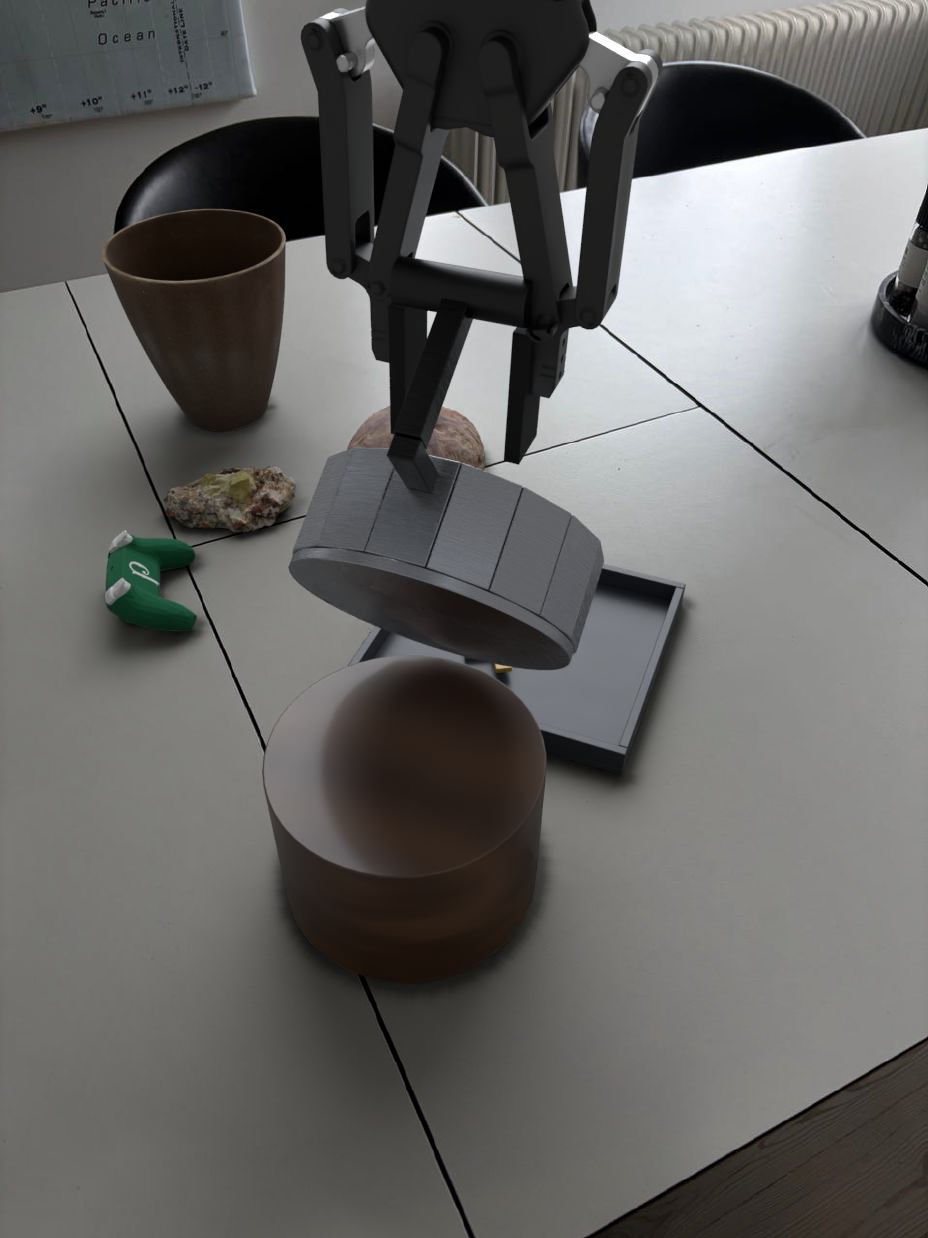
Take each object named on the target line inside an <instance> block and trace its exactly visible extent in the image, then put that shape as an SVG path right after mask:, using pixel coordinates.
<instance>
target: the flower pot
mask: <svg viewBox="0 0 928 1238" xmlns="http://www.w3.org/2000/svg"><path fill="white" fill-rule="evenodd" d="M286 240H287V238H286V234H285V232H284V229H282V227H281V226H280V225H279V224H278V223H276V222H275V221H273V220H272V219H270V218H267V217H266V216H263V215H260V214H256V213H253V212H250V211H249V212H248V211H242V210H234V209H226V208H225V209H224V208H199V209H188V210H180V211H174V212H167V213H164V214H159V215H155V216H151V217H148V218H146V219H142V220H140V221H138V222H135V223H132V224H130V225H127V226H125V227H124V228H122V229H120V230H118V231H117V232H116V233H114V234H113V235H112V236H111V237H110V238H108V240H107V241H106V242H105V243H104V245H103V247H102V249H101V258H102V261H103V264H104V267H105V269H106V271H107V274H108V276H109V279H110V281H111V283H112V286H113V288H114V290H115V294H116V296H117V298H118V300H119V303H120V305H121V307H122V309H123V311H124V313H125V316H126V317H127V320H128V321H129V324H130V326H131V328H132V330H133V332H134V334H135V335H136V337H137V340H138V342H139V343H140V345H141V347H142V349H143V351H144V352H145V354H146V356H147V358H148V360H149V362H150V363H151V365H152V367H153V368H154V371H155V372H156V373H157V375H158V376H159V379H160V380H161V382H162V383H163V385H164V387H165V388H166V389H167V391H168V393H169V394H170V396H171V397H172V398H173V400H174V402H175V403H176V404H177V406H178V408H179V409H180V410H181V412H182V413H183V414H184V416H185V417H186V419H188V422H190V423H191V424H192V425H193V426H196V427H198V428H199V429H202V430H206V431H210V432H211V431H213V432H228V431H229V432H230V431H235V430H239V429H242V428H246V427H249V426H250V425H252V424H254V423H257V422H258V421H259V420H260V419H261V418H262V417H263V416H264V415H265V413H266V411H267V409H268V406H269V402H270V398H271V393H272V390H273V384H274V380H275V376H276V370H277V365H278V360H279V354H280V346H281V340H282V332H283V323H284V312H285V297H286V252H287V251H286V249H287V247H286V244H287V243H286V242H287V241H286Z"/></svg>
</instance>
